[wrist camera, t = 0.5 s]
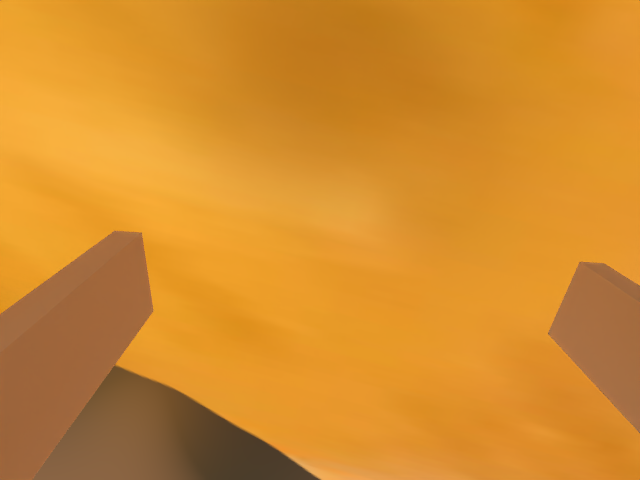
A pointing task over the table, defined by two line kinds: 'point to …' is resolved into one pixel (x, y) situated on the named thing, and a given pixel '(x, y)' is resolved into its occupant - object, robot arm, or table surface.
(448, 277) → the table surface
